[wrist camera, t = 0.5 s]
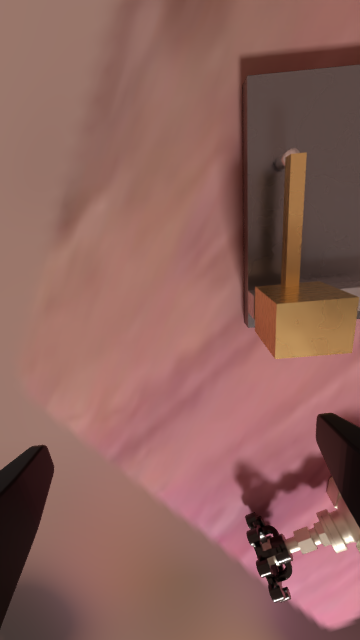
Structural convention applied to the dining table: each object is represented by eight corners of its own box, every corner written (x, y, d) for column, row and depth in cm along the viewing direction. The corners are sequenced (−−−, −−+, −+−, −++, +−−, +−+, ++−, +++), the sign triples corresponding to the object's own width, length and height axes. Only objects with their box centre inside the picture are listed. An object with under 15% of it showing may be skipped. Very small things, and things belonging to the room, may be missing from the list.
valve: (354, 452, 26) (238, 500, 28) (409, 525, 20) (256, 580, 22) (375, 497, 28) (265, 538, 30) (432, 576, 22) (289, 622, 24)
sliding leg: (316, 152, 16) (383, 117, 11) (305, 318, 20) (352, 352, 14) (248, 158, 16) (282, 127, 11) (249, 322, 20) (275, 358, 15)
